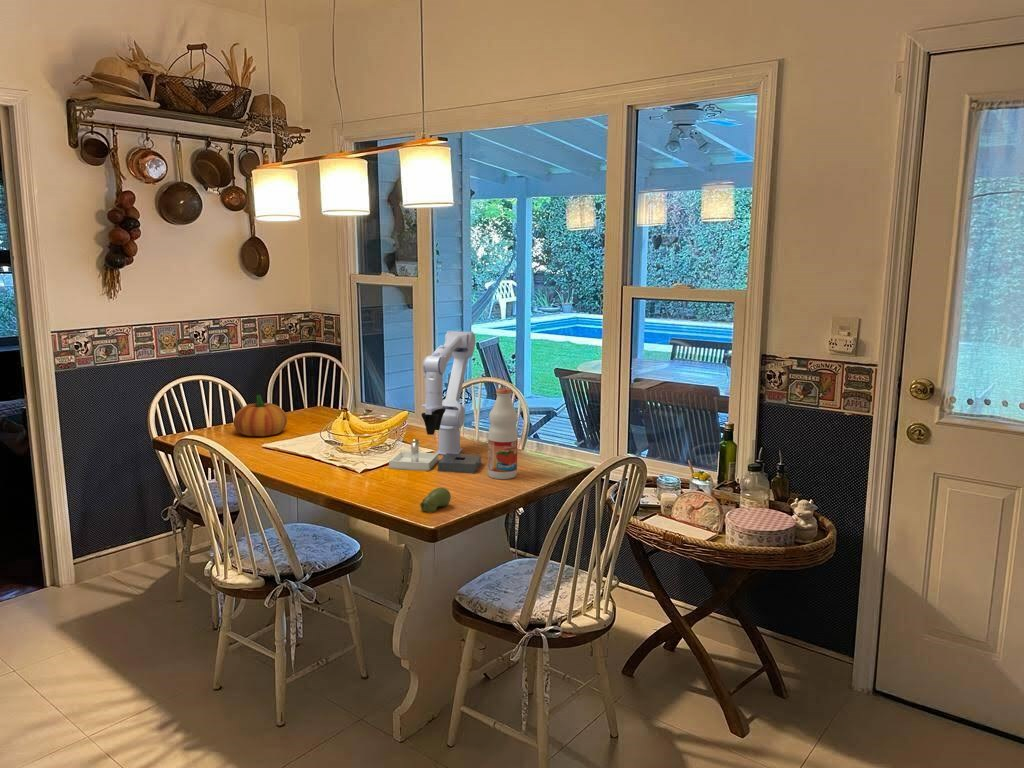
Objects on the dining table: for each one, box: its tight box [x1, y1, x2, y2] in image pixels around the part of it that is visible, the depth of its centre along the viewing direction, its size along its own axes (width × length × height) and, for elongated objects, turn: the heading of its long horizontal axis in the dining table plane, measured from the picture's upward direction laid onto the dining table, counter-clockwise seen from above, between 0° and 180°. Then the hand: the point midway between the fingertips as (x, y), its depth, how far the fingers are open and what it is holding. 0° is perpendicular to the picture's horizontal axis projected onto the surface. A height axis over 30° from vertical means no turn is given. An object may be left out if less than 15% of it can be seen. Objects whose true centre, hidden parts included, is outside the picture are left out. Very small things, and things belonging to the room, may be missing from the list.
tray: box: [388, 450, 439, 472], centre depth 258 cm, size 13×13×3 cm
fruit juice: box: [486, 387, 519, 480], centre depth 246 cm, size 9×9×28 cm
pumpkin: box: [233, 394, 288, 438], centre depth 297 cm, size 19×19×15 cm
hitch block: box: [437, 453, 482, 474], centre depth 256 cm, size 12×12×3 cm
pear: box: [419, 487, 452, 513], centre depth 215 cm, size 6×5×10 cm
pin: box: [410, 438, 420, 462], centre depth 258 cm, size 2×2×8 cm
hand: (433, 432), depth 260 cm, fingers open, 7 cm apart
